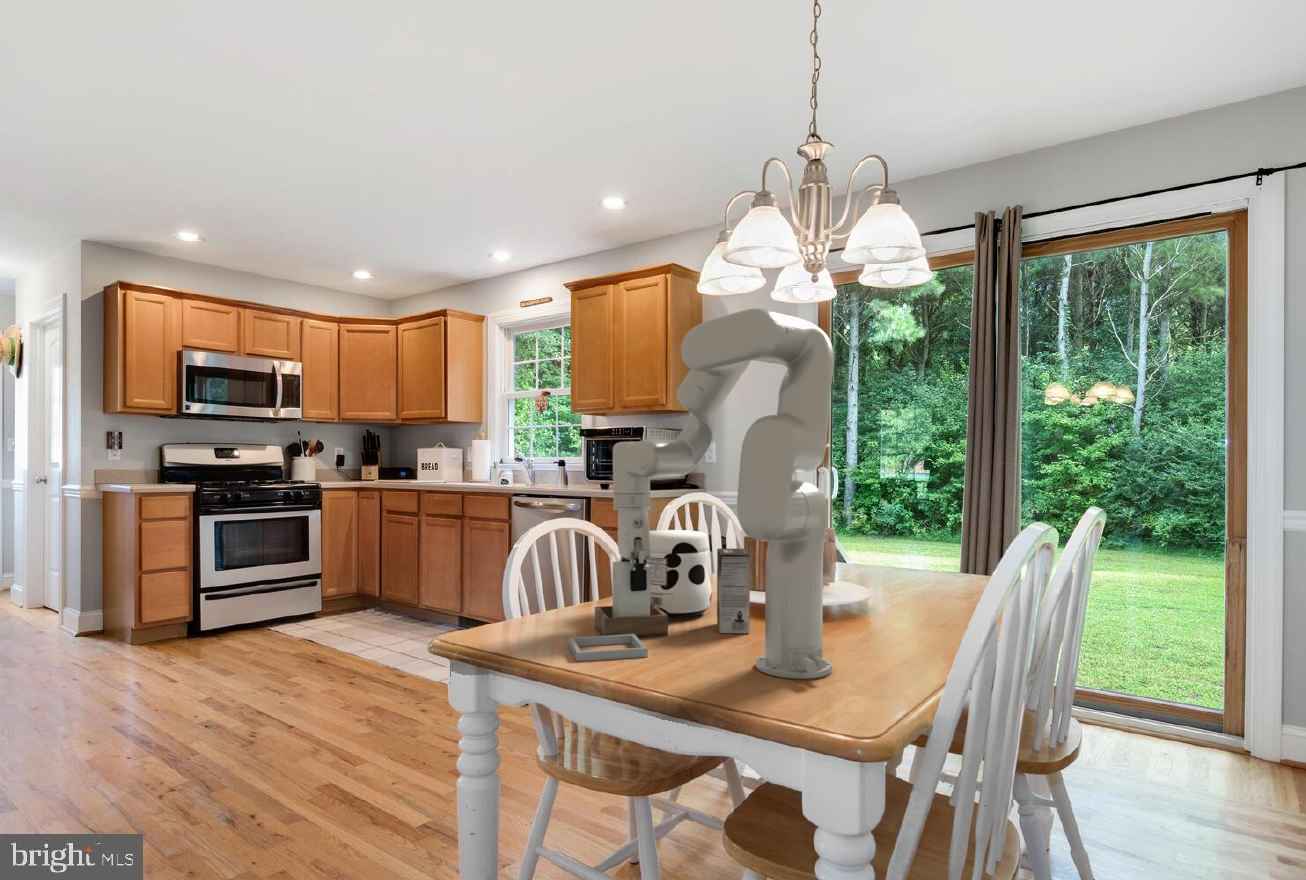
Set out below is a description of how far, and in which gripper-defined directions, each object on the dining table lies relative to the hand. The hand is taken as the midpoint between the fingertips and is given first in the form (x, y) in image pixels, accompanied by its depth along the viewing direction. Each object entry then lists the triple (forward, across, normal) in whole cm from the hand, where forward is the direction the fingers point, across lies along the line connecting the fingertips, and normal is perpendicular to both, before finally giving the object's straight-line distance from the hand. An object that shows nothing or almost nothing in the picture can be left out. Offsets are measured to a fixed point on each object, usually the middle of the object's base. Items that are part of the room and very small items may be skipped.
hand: (633, 586), depth 151 cm
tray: (+9, -13, +8) cm, 18 cm away
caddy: (+9, +1, 0) cm, 9 cm away
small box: (+9, 0, 0) cm, 9 cm away
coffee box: (+10, -2, -20) cm, 23 cm away
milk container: (+9, +15, -12) cm, 21 cm away
